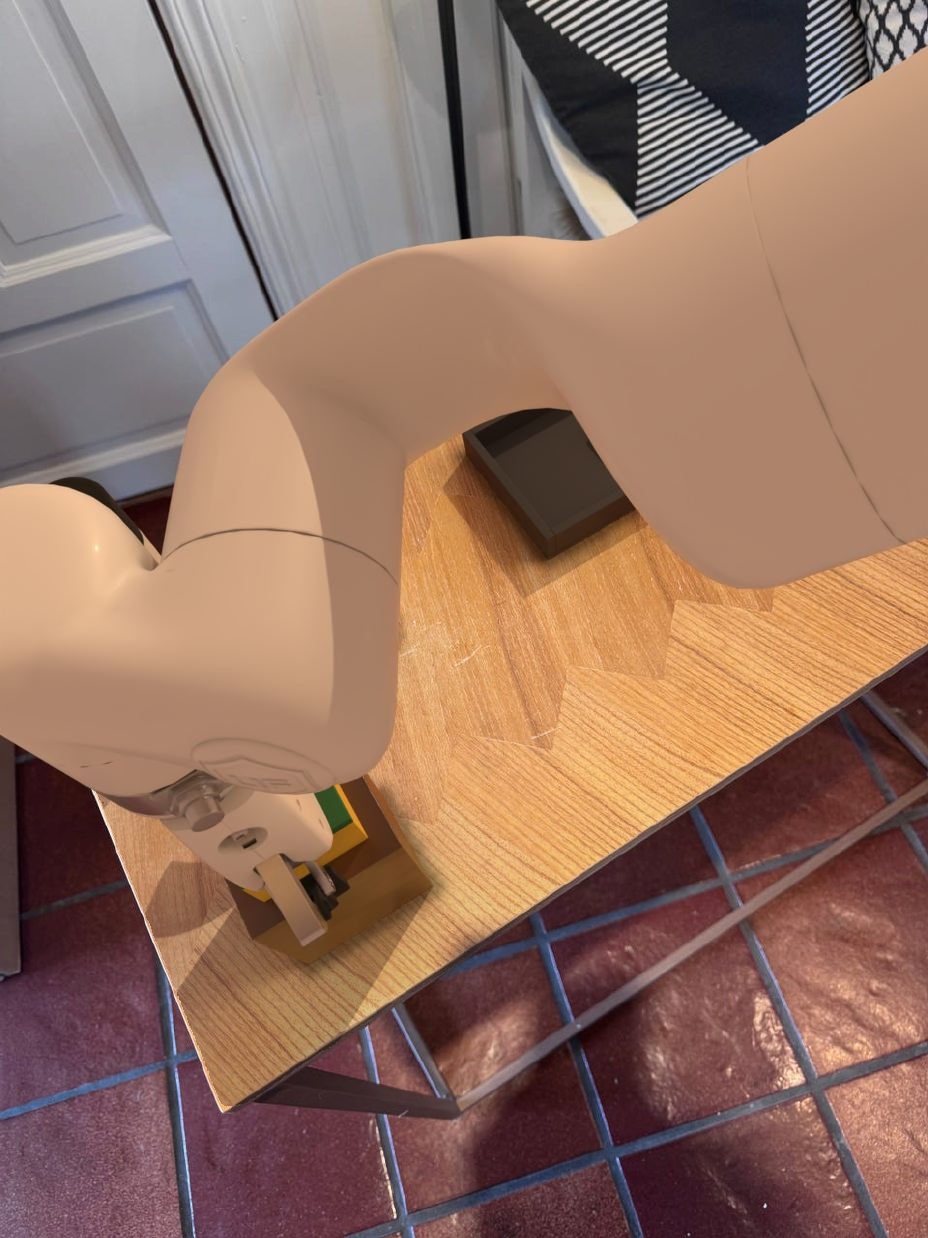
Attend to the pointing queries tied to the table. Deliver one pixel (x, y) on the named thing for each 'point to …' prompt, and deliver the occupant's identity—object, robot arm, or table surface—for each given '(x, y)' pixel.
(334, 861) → the brown wooden cube
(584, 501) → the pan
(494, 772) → the table surface
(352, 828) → the sponge
